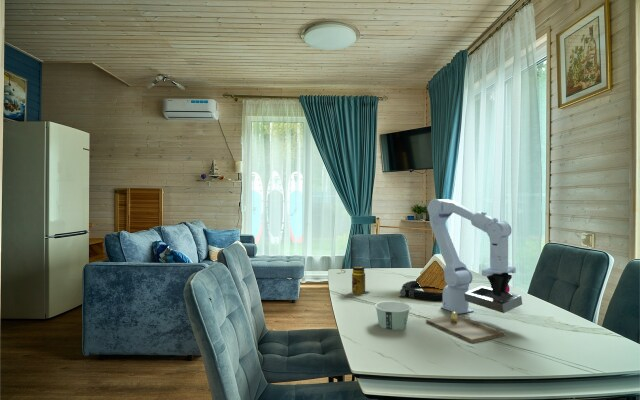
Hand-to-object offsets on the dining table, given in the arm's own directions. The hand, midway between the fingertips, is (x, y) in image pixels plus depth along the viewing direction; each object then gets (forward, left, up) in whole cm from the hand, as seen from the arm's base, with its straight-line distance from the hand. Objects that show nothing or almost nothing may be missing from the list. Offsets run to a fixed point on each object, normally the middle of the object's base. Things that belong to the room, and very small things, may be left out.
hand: (499, 294), depth 128 cm
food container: (-13, -36, -10) cm, 39 cm away
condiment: (-55, -24, -10) cm, 61 cm away
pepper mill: (-21, +26, -10) cm, 35 cm away
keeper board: (0, -17, -9) cm, 19 cm away
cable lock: (-41, +5, -10) cm, 43 cm away
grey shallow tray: (0, -3, -2) cm, 4 cm away
